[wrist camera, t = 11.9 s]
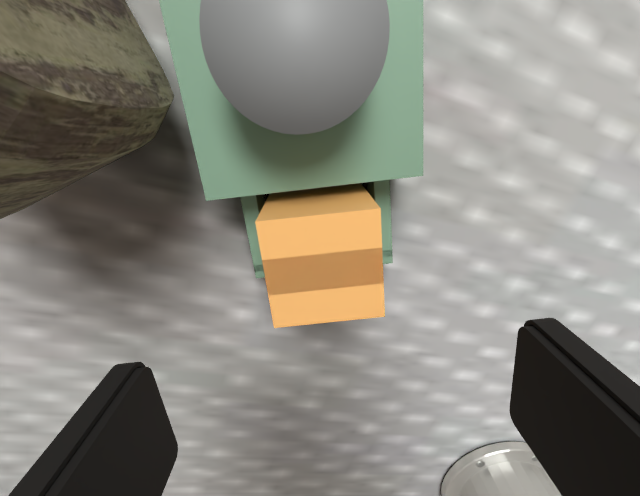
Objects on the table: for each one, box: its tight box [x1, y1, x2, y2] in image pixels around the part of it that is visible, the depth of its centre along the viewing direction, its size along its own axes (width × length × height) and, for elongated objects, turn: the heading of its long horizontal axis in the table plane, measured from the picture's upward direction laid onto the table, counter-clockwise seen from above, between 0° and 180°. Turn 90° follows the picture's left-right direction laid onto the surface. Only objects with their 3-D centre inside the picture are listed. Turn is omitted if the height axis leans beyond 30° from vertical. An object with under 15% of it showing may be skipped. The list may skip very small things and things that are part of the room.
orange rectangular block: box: [255, 183, 385, 328], centre depth 21 cm, size 6×6×9 cm
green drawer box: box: [159, 0, 423, 278], centre depth 19 cm, size 12×16×10 cm
